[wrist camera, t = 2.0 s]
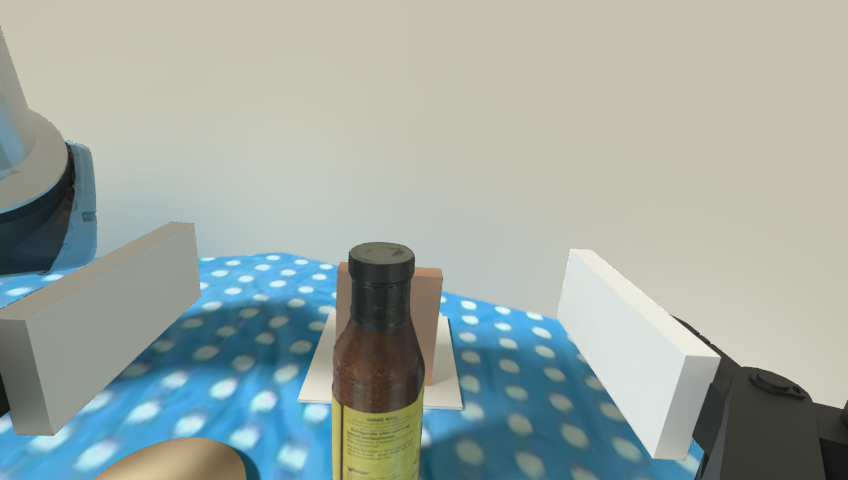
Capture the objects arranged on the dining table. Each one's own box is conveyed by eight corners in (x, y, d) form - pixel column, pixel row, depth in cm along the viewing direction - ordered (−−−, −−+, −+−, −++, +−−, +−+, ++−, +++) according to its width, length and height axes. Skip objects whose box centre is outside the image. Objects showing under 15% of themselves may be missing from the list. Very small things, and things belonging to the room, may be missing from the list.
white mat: (462, 410, 42) (462, 407, 41) (297, 402, 41) (297, 399, 40) (446, 318, 59) (447, 316, 58) (330, 311, 58) (330, 309, 57)
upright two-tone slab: (430, 386, 44) (442, 277, 40) (334, 381, 43) (337, 270, 39) (429, 371, 46) (441, 268, 42) (338, 367, 46) (341, 261, 42)
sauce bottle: (432, 503, 32) (463, 259, 25) (367, 562, 27) (384, 284, 21) (377, 451, 36) (391, 230, 30) (312, 494, 32) (313, 246, 25)
